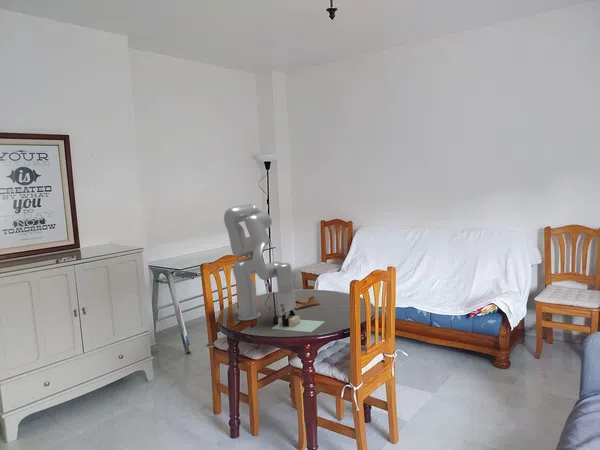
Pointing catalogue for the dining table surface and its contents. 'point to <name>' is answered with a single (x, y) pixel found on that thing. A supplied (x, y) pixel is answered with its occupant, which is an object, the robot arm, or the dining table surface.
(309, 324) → the mat
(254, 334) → the dining table surface
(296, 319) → the card box
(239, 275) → the robot arm
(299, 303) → the sunglasses case
